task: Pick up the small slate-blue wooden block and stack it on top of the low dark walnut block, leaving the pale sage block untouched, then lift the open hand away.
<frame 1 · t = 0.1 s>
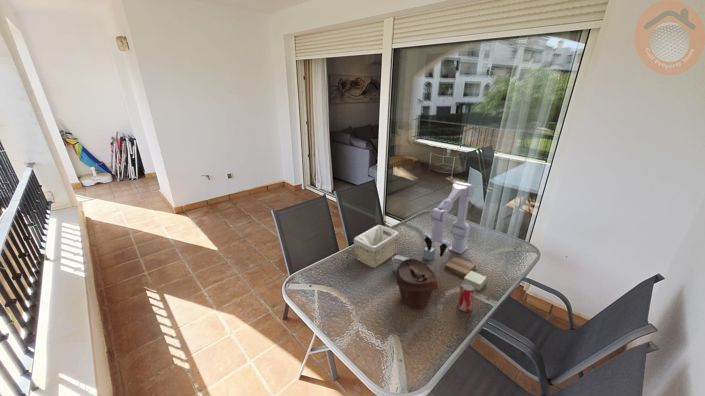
hand: (435, 252, 151), 10 cm above the table, fingers open, 7 cm apart
medicine box: (401, 271, 153), on the table
brown lidded pot: (415, 300, 132), on the table
storage basket: (376, 256, 168), on the table
beverage can: (464, 308, 127), on the table
walnut block: (459, 269, 154), on the table
slate block: (428, 257, 165), on the table
sage block: (474, 283, 142), on the table
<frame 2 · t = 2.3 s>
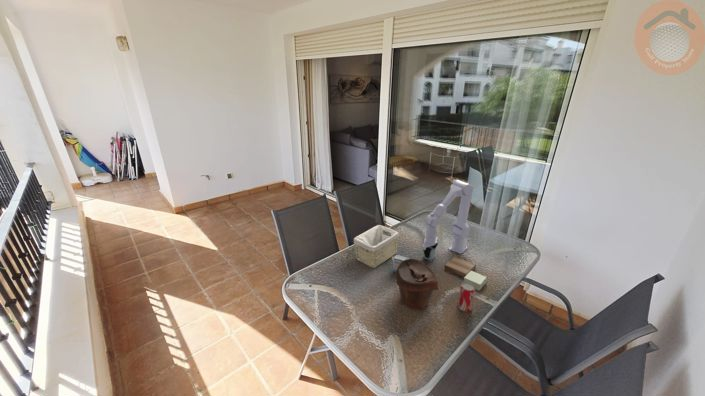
hand: (429, 255, 164), 1 cm above the table, fingers closed on slate block, 4 cm apart
slate block: (428, 257, 165), on the table, touching gripper
everything else where it was.
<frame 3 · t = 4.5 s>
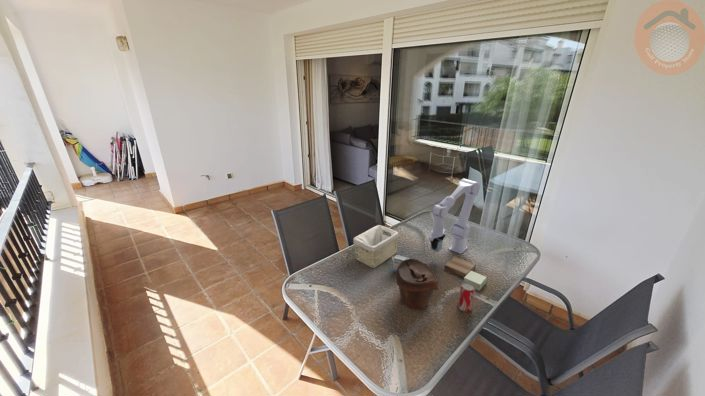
hand: (436, 247, 160), 8 cm above the table, fingers closed on slate block, 4 cm apart
slate block: (435, 249, 160), point 7 cm above the table, touching gripper
everything else where it was.
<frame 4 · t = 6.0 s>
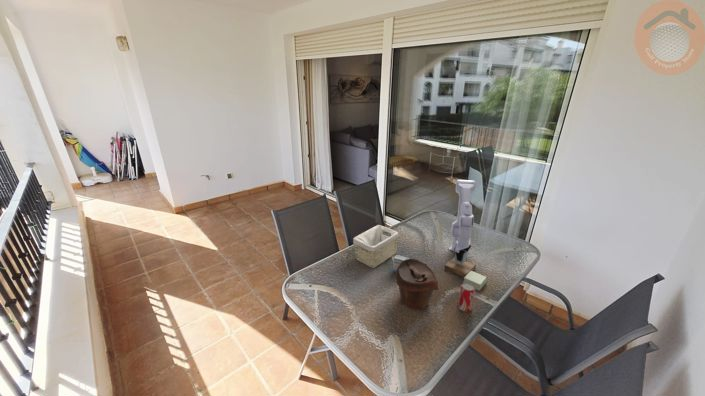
hand: (461, 258, 152), 6 cm above the table, fingers closed on slate block, 4 cm apart
slate block: (460, 260, 153), point 5 cm above the table, touching gripper
everything else where it was.
when the fingers open (6 cm above the table, at t = 7.0 s): slate block drops 2 cm, resting on walnut block.
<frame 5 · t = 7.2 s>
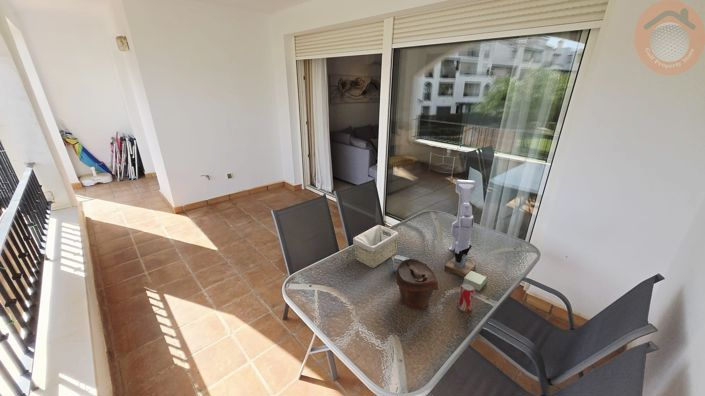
hand: (461, 259, 152), 6 cm above the table, fingers open, 6 cm apart
walnut block: (459, 269, 154), on the table, touching slate block
slate block: (459, 264, 153), point 2 cm above the table, touching walnut block
everything else where it was.
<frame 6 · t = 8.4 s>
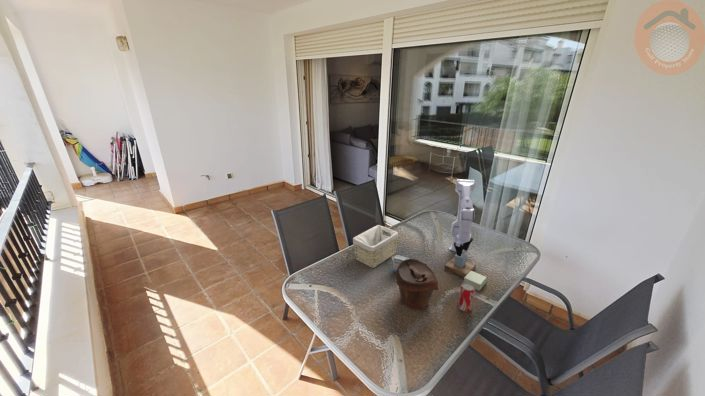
hand: (462, 252, 150), 10 cm above the table, fingers open, 7 cm apart
nothing on the table moved.
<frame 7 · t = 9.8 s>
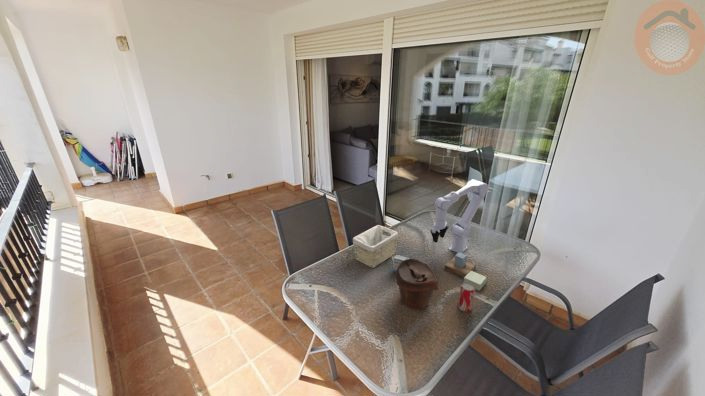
hand: (438, 239, 164), 10 cm above the table, fingers open, 7 cm apart
walnut block: (459, 269, 154), on the table
slate block: (460, 264, 153), point 2 cm above the table
everything else where it was.
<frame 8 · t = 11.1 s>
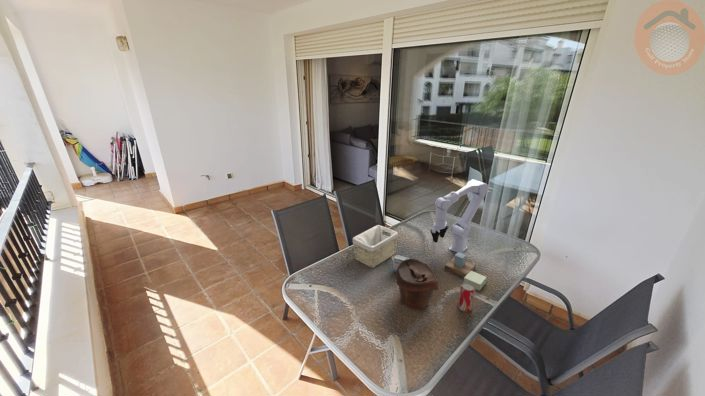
hand: (438, 239, 164), 10 cm above the table, fingers open, 7 cm apart
nothing on the table moved.
at the end: slate block 0.5 cm off-centre on the walnut block, point 3.0 cm above the walnut block's base; slate block tilted 0°; the gripper is holding nothing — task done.
